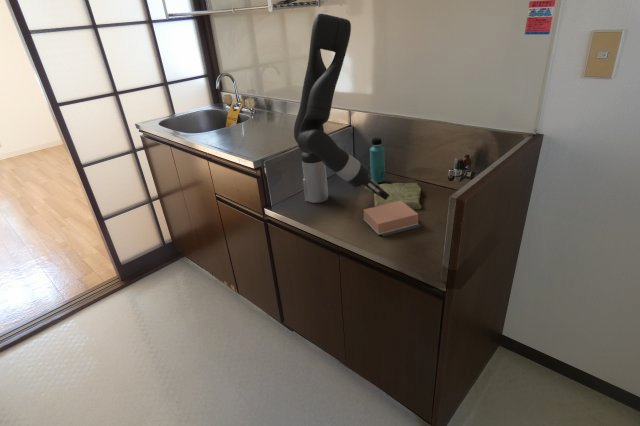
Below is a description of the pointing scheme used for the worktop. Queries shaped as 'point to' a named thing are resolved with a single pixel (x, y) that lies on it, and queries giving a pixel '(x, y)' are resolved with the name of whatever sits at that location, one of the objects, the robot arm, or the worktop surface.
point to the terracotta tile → (390, 217)
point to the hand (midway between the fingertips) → (386, 196)
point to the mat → (400, 230)
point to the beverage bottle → (377, 161)
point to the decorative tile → (400, 194)
